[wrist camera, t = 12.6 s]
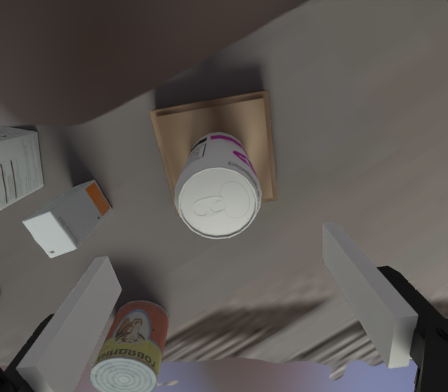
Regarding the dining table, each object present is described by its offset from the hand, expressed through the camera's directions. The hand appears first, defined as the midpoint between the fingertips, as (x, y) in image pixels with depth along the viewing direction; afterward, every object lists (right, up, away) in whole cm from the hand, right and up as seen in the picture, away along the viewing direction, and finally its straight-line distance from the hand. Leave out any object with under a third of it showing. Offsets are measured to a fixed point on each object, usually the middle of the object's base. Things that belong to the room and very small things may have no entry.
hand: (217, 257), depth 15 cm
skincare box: (-22, +4, +27) cm, 35 cm away
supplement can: (0, +9, +21) cm, 23 cm away
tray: (0, +10, +24) cm, 26 cm away
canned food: (-17, -23, +39) cm, 48 cm away
